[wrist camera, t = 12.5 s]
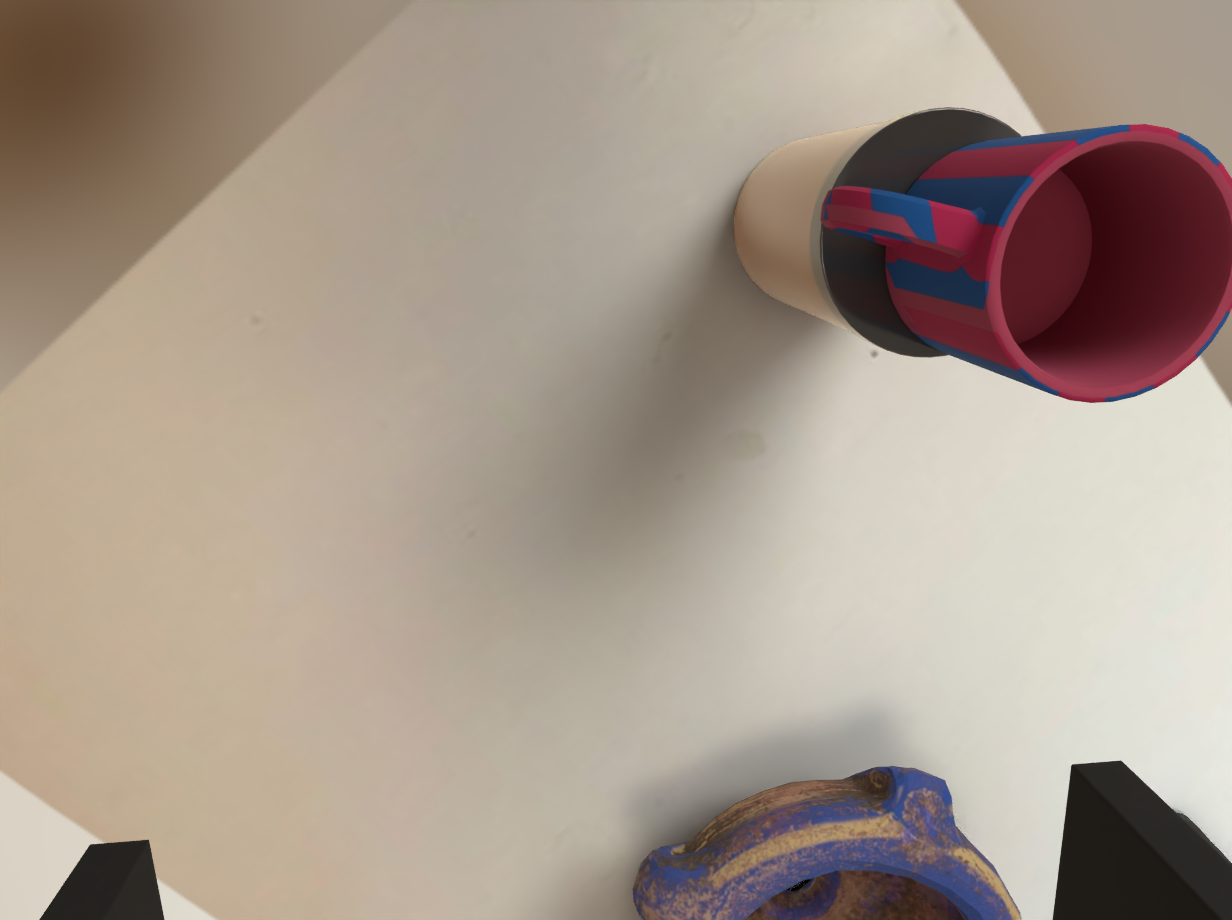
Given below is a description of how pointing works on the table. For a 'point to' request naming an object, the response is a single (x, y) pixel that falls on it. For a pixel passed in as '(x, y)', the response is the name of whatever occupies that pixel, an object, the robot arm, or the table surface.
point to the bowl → (829, 857)
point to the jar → (831, 260)
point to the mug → (1060, 256)
